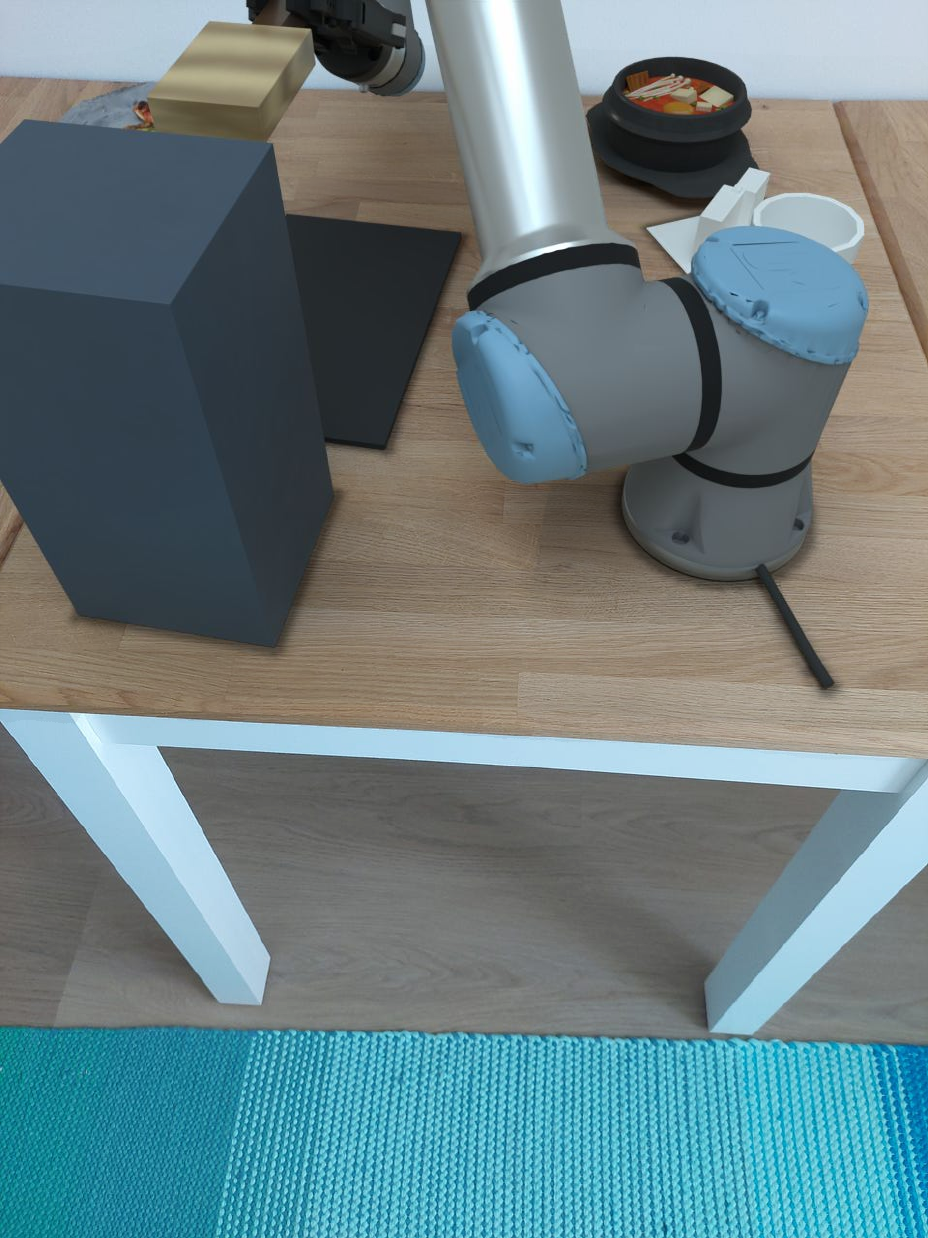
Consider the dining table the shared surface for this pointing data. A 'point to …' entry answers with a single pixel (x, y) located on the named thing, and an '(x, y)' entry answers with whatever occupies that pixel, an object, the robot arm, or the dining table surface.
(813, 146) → the dining table surface
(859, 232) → the foam cup
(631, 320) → the robot arm
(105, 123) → the food plate
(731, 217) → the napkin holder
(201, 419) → the pedestal
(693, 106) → the casserole
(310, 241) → the mat
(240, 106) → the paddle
